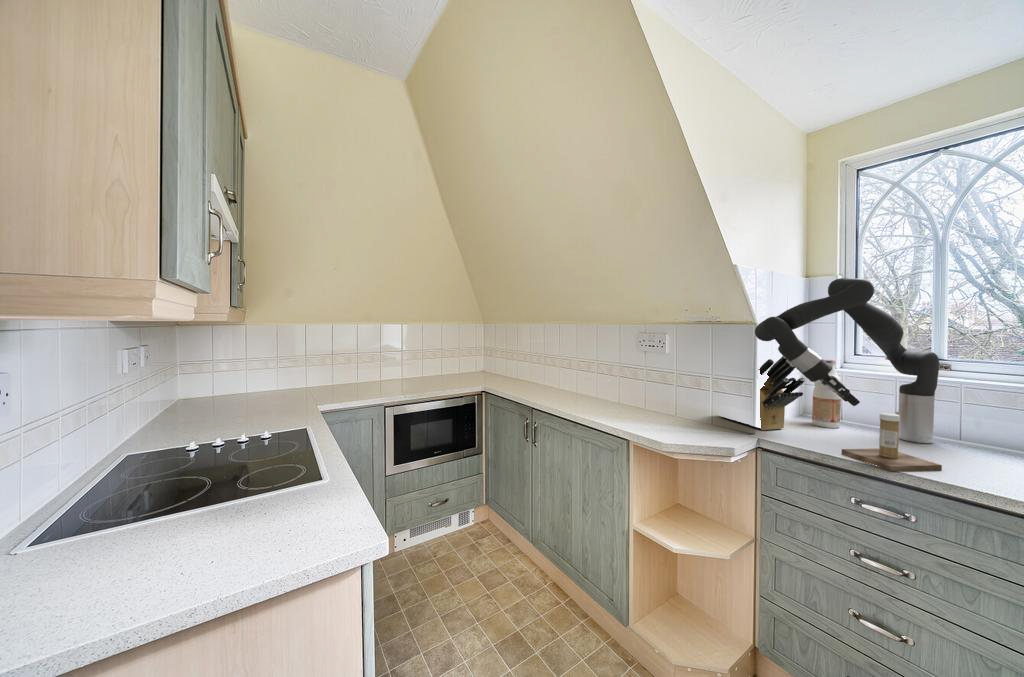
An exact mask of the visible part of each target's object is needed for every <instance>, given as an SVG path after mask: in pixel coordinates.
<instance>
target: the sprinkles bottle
mask: <svg viewBox="0 0 1024 677" xmlns="http://www.w3.org/2000/svg"><path fill="white" fill-rule="evenodd" d="M899 421H900V416H899V415H897V414H896V413H891V412H890V413H889V412H880V413H879V422H880V423H879V436H878V437H879V442H878V443H879V445H878V446H879V447H878V448H879V455H880V456H883V457H886V458H894V459H895V458H898V452H899V444H900V441H899V440H900V438H899V437H898V436H899Z"/></svg>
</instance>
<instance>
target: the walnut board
mask: <svg viewBox="0 0 1024 677" xmlns="http://www.w3.org/2000/svg"><path fill="white" fill-rule="evenodd" d="M841 454H842V455H844V456H847V457H850V458H853V457H854V458H853V459H855V458H856V460H858V459H859V461H861V460H862V461H861V462H864V461H865V462H864V463H867V462H868V463H867V464H869V463H871V464H870V465H872V464H874V465H873V466H875V465H877V466H876V467H878V466H879V468H881V467H882V468H881V469H883V468H884V469H883V470H887V471H889V472H924V471H925V470H926V471H928V472H929V470H931V471H942V470H943V469H942V468H943V464H939V463H935V462H932V461H931V460H930V461H929V460H926V459H923V458H919V457H917V456H912V455H910V454H906V453H903V452H900V451H898V458H895V459H894V458H886V457H883V456H880V455H879V447H876V448H841ZM926 471H925V472H926Z"/></svg>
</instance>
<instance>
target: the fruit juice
mask: <svg viewBox="0 0 1024 677" xmlns="http://www.w3.org/2000/svg"><path fill="white" fill-rule="evenodd" d="M824 360H825V361H826V362H827V363H828V364H829V365H830V366H831V367H832V370H831V371H830V372H829V373H828V375H829V376H831V375H832V376H834V377H836V378H837V379H838V381H839V382H841V383H842V379H841V377H840V375H839V373H838V372H837V369H836V367H835V364H836V360H834V359H824ZM813 383H814V388H813V390H812V411H811V412H812V414H811V423H812V425H814V426H817V427H821V428H829V429H837V428H838V429H839V428H840V427H841V411H842V407H841V406H842V398H841V397H839V396H838V395H837V394H836V393H834V392H833V391H832V390H831V391H830V390H829V389H828V388H827V387H825V386H824V385H823V384H821V383H822V382H821V381H820V380H818V381H815V382H813Z"/></svg>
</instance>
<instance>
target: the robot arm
mask: <svg viewBox="0 0 1024 677" xmlns="http://www.w3.org/2000/svg"><path fill="white" fill-rule="evenodd" d="M827 294H828V296H826V297H823V298H822V297H821V298H817V299H814V300H810V301H806V302H803V303H799V304H797V305H795V306H793V307H791V308H788V309H786V310H785V311H783V312H781V313H780V314H778V315H777V316H769V317H767V318H766V319H764V320H763V321H761V322H760V323H758V324H757V325H756V327H755V329H754V334H755V337H756V338H757V339H758V340H759V341H763V342H771V341H774V340H775V342H776V343H777V344H778V345H779V346H778V347H777V350H778V352H779V353H780V354H781V355H782V356H784V357H785V358H786V359H788V360H789V361H790V362H791V363H792V364H793V366H794V367H795V369H796V370H798V372H799V373H801V375H803V376H805V378H806V379H807V380H809V382H812V383H814V382H815V381H818V380H820V381H821V382H822V383H821V384H823V385H824V386H825V387H827V388H828V389H829V390H830V391H831V390H832V391H833V392H834V393H836V394H837V395H838V396H839V397H841V400H842V401H844V402H846V403H847V402H848V403H849V404H850V406H852V407H855V406H857V405H859V404H860V403H861V401H860V400H859V399H858V398H856V397H855V396H854V394H852V393H851V391H850V389H848V388H847V387H846V385H844V384H843V383H842V381H841V382H839V381H838V379H837V378H836V377H834V376H832V375H831V376H829V375H828V373H829V372H830V371H831V370H832V367H831V366H830V365H829V364H828V363H827V362H826V361H825V360H826V359H824V358H822V357H821V356H820V355H819V354H818V353H817V352H815V351H814V350H812V349H811V348H809V347H808V346H807V345H806V344H805V343H803V341H802V340H800V339H799V338H798V337H797V335H796V333H795V332H794V330H795V329H799V328H800V327H803V326H805V325H807V324H810V323H811V322H814V321H816V320H818V319H821V318H823V317H826V316H829V315H832V314H835V313H838V312H841V311H843V312H844V313H846V314H847V315H848V316H850V318H851V319H852V320H853V321H854V322H855V323H856V324H857V326H859V327H860V328H861V330H863V332H864V333H865V334H866V335H867V336H868V337H869V339H871V341H872V342H874V343H875V344H876V346H878V348H879V349H880V350H881V352H882V353H883V354H884V355H885V356H886V357H887V359H888V360H889V362H890V363H891V365H892V366H893V368H894V369H895V370H896V371H897V372H898V373H900V374H903V375H906V376H916V379H915V380H914V381H913V382H911V383H906V384H904V383H903V384H901V385H900V386H899V388H898V392H899V393H898V394H899V395H898V411H896V412H895V414H897V415H899V416H900V421H899V436H898V437H899V440H900V439H901V440H903V441H907V442H912V443H919V444H920V443H921V444H933V443H934V442H933V440H934V421H935V420H934V419H935V418H934V417H935V396H936V390H937V387H938V382H939V381H938V380H939V371H940V360H939V356H938V354H936V352H933V351H929V350H928V351H927V350H926V351H925V350H911V349H907V348H906V347H905V346H904V345H903V344H902V343H901V342H902V340H903V337H904V329H903V326H902V325H901V324H900V323H899V321H897V319H896V318H895V317H893V315H891V313H889V312H887V311H886V310H884V309H883V308H880V307H878V306H876V305H875V304H873V303H870V302H869V301H870V300H871V299H872V298H873V296H874V294H875V287H874V284H873V282H871V281H870V280H867V279H864V278H855V277H852V278H851V277H840V278H837V279H836V278H835V279H834V280H833V281H831V282H830V283H829V285H828V287H827Z"/></svg>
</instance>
